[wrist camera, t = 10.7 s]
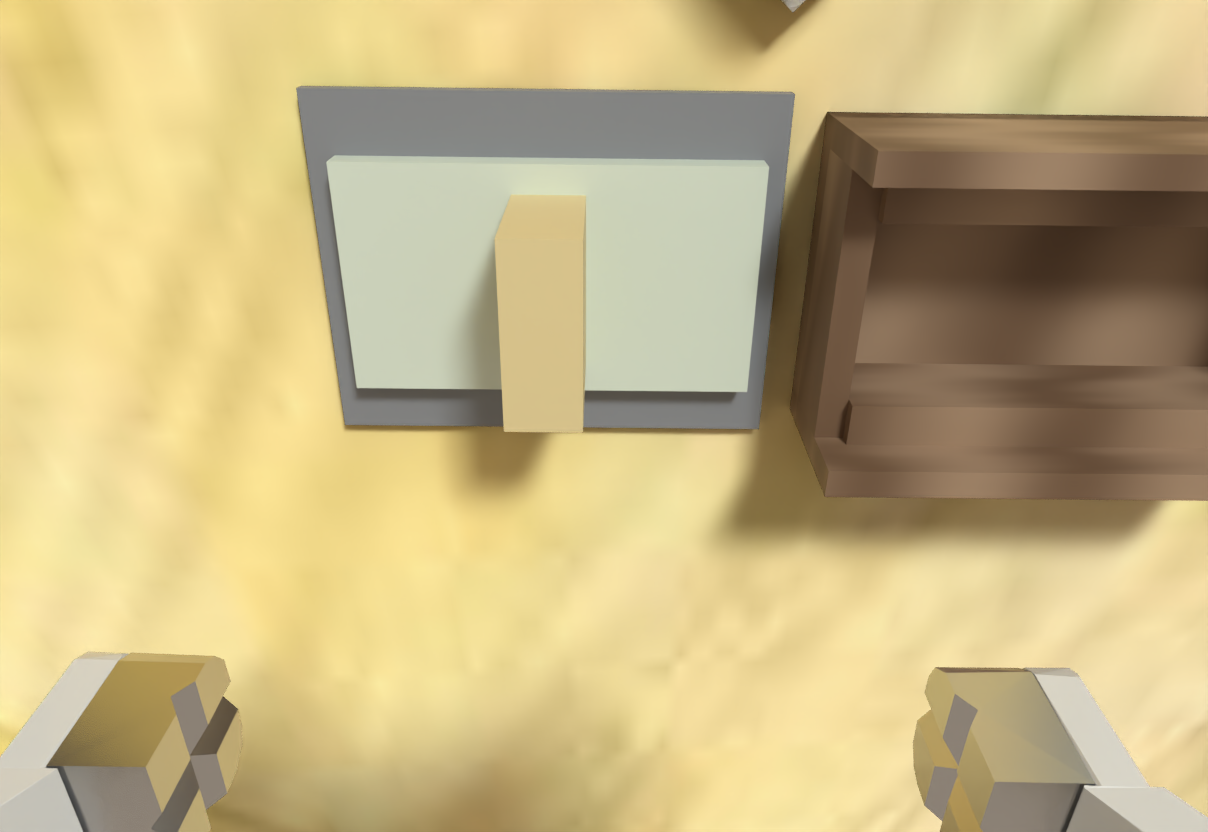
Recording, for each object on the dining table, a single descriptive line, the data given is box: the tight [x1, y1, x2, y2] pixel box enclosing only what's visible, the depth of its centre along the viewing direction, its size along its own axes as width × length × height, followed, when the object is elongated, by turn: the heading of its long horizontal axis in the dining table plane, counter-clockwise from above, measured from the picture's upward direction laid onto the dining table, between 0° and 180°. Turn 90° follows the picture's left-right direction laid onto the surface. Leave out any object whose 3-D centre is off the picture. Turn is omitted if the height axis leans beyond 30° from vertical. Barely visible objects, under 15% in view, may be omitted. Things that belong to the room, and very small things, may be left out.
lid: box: [326, 155, 769, 433], centre depth 23 cm, size 12×7×5 cm, turn 89°
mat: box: [296, 86, 795, 429], centre depth 26 cm, size 13×10×1 cm
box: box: [790, 112, 1208, 501], centre depth 24 cm, size 14×9×5 cm, turn 89°
